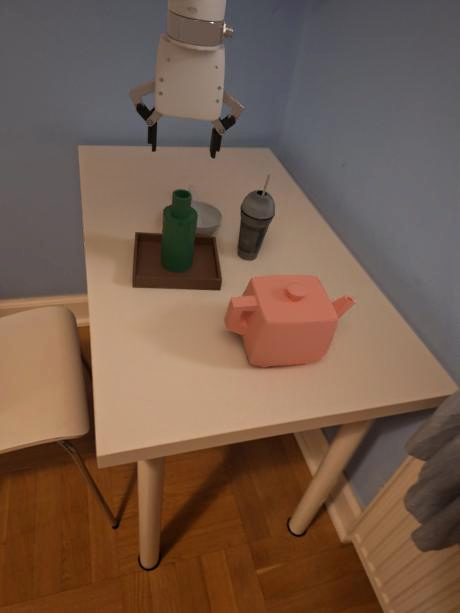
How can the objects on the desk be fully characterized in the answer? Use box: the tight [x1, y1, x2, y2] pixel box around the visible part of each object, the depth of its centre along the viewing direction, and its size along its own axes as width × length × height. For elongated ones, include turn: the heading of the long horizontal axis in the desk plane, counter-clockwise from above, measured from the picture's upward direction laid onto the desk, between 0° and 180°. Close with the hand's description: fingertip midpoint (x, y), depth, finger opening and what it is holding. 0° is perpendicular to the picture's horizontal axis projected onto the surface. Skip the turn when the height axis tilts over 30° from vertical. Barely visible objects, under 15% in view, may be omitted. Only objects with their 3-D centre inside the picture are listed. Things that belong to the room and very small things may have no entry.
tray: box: [131, 231, 223, 291], centre depth 83 cm, size 17×14×3 cm
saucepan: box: [187, 183, 223, 236], centre depth 96 cm, size 11×18×4 cm, turn 13°
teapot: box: [223, 274, 356, 369], centre depth 69 cm, size 22×13×14 cm, turn 101°
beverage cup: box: [236, 174, 276, 261], centre depth 84 cm, size 7×7×20 cm
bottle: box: [161, 188, 198, 273], centre depth 78 cm, size 6×6×16 cm
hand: (183, 151), depth 67 cm, fingers open, 9 cm apart
